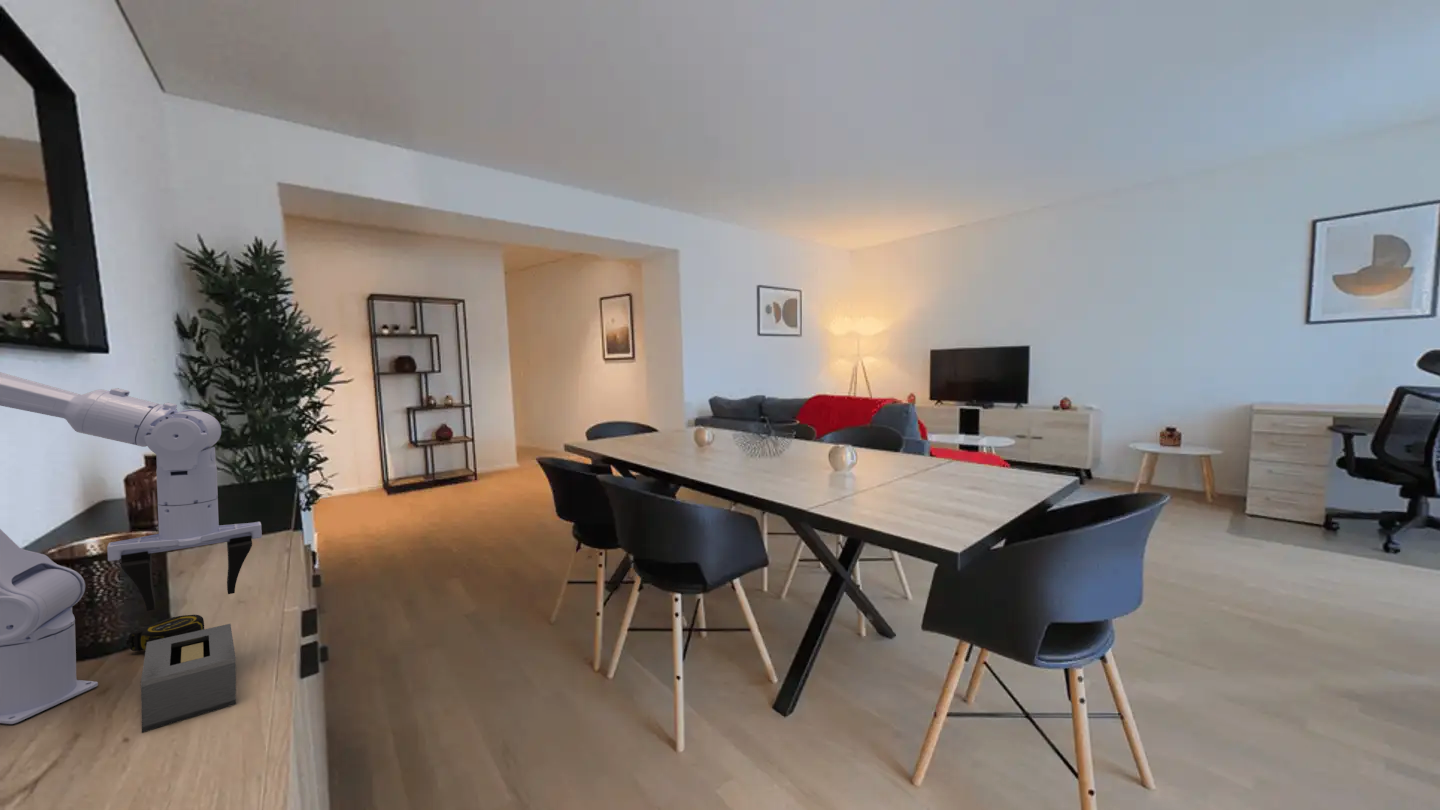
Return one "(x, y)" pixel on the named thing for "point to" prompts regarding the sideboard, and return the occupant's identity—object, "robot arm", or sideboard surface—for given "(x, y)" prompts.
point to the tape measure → (164, 630)
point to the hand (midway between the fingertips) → (192, 599)
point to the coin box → (187, 677)
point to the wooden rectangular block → (192, 652)
